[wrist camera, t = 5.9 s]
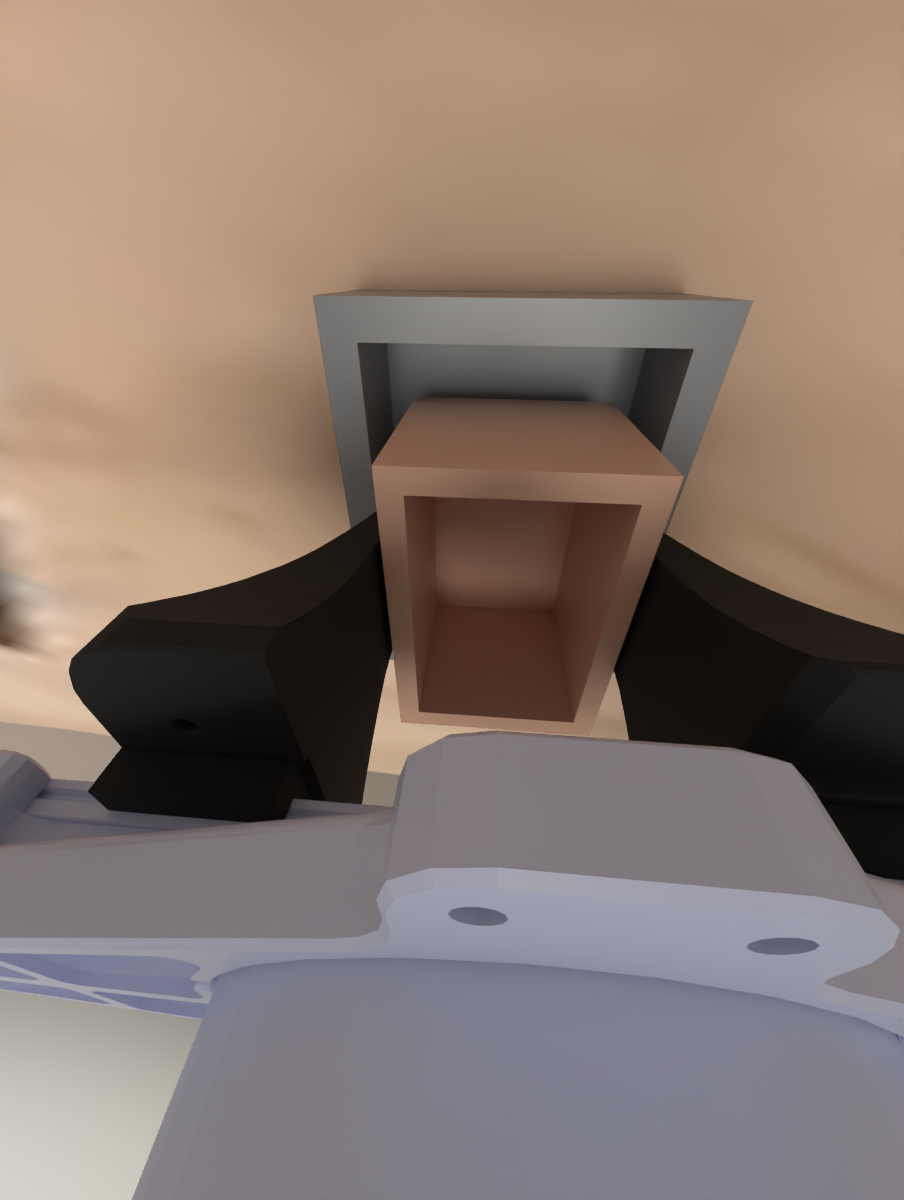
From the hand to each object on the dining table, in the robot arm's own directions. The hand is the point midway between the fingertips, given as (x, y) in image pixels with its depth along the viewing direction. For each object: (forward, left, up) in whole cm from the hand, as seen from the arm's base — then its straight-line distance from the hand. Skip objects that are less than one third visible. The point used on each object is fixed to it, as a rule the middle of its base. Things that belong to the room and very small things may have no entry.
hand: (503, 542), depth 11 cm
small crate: (0, 0, -2) cm, 2 cm away
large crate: (0, 0, -4) cm, 4 cm away
